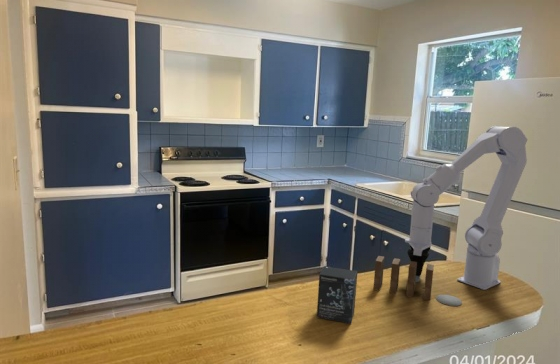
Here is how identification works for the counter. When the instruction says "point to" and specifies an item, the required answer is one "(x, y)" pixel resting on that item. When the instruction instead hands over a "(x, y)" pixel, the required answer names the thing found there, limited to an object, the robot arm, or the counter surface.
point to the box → (336, 294)
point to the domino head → (417, 278)
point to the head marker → (449, 300)
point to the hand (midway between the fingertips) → (417, 272)
